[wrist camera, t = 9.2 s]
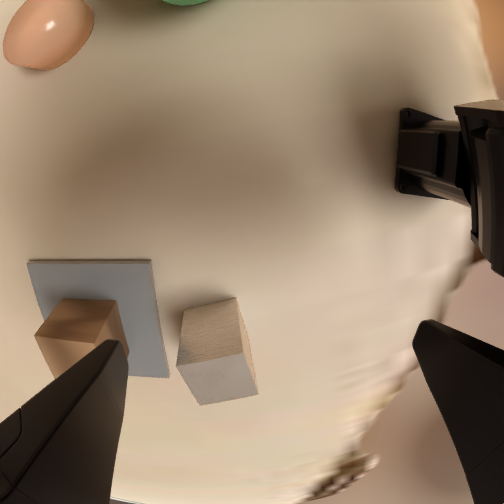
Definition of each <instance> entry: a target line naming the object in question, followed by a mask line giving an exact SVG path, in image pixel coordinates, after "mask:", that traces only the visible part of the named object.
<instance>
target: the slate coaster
mask: <svg viewBox="0 0 504 504" xmlns="http://www.w3.org/2000/svg"><path fill="white" fill-rule="evenodd" d="M27 267H28V270H29V274H30V278H31V281H32V285H33V288H34V291H35V295H36V298H37V301H38V304H39V307H40V310H41V313H42V315H43V318H44V321H45V320H46V319H47V317H48V316H49V315H50V313H51V312H52V311H53V310H54V308H55V307H56V306H57V304H58V303H59V302H60V301H61V299H62V298H69V299H88V300H112V301H117V305H118V309H119V313H120V317H121V321H122V325H123V329H124V333H125V337H126V340H127V344H128V347H129V351H130V352H129V355H128V358H127V360H128V364H129V371H128V376H141V377H156V378H169V376H170V372H169V367H168V362H167V358H166V353H165V348H164V343H163V337H162V332H161V326H160V321H159V315H158V308H157V302H156V295H155V288H154V281H153V273H152V264H151V260H106V261H32V260H30V261H29V262H28V263H27Z"/></svg>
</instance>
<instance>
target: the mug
mask: <svg viewBox="0 0 504 504" xmlns="http://www.w3.org/2000/svg"><path fill="white" fill-rule="evenodd" d="M162 1H165V2H167V3H170V4H173V5H180V6H187V5H196V4H199V3H203V2H206V1H208V0H162Z"/></svg>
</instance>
